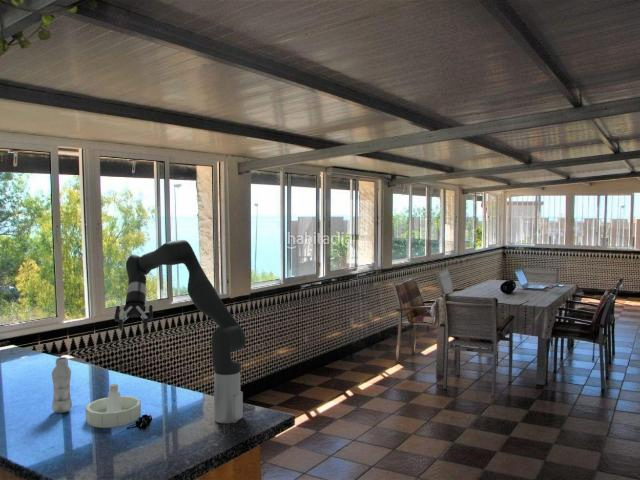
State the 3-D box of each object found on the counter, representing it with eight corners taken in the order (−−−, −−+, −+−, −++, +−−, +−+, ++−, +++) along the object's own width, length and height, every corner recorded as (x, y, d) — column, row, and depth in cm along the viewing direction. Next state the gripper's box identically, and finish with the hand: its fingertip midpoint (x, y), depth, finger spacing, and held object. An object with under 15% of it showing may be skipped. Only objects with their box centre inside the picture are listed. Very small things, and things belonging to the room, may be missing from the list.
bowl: (150, 412, 197) (150, 399, 197) (118, 430, 180) (118, 416, 180) (109, 407, 203) (109, 394, 203) (74, 424, 186) (74, 410, 185)
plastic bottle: (64, 416, 193) (63, 361, 192) (47, 414, 195) (47, 360, 194) (75, 409, 199) (75, 356, 199) (59, 408, 201) (59, 355, 200)
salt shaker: (125, 413, 193) (125, 383, 192) (113, 418, 188) (113, 388, 188) (114, 411, 195) (114, 381, 195) (102, 416, 190) (102, 385, 190)
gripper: (116, 290, 214) (112, 324, 203) (153, 289, 217) (151, 322, 207) (118, 301, 220) (114, 335, 209) (154, 300, 223) (152, 333, 212)
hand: (132, 329), depth 208 cm, fingers open, 8 cm apart
